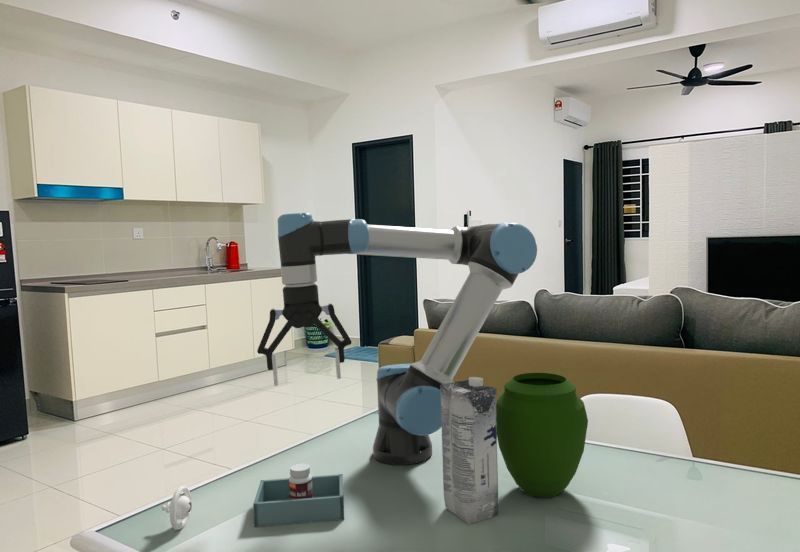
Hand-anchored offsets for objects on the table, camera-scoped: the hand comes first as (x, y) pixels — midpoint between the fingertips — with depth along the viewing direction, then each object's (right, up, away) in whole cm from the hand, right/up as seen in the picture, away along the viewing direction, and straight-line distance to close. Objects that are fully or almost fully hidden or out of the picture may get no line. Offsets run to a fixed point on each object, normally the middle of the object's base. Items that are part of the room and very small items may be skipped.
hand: (307, 380), depth 129 cm
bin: (0, -25, -8) cm, 26 cm away
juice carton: (+34, -24, -12) cm, 44 cm away
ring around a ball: (-24, -27, -14) cm, 38 cm away
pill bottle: (0, -25, -8) cm, 26 cm away
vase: (+51, -23, -3) cm, 56 cm away
